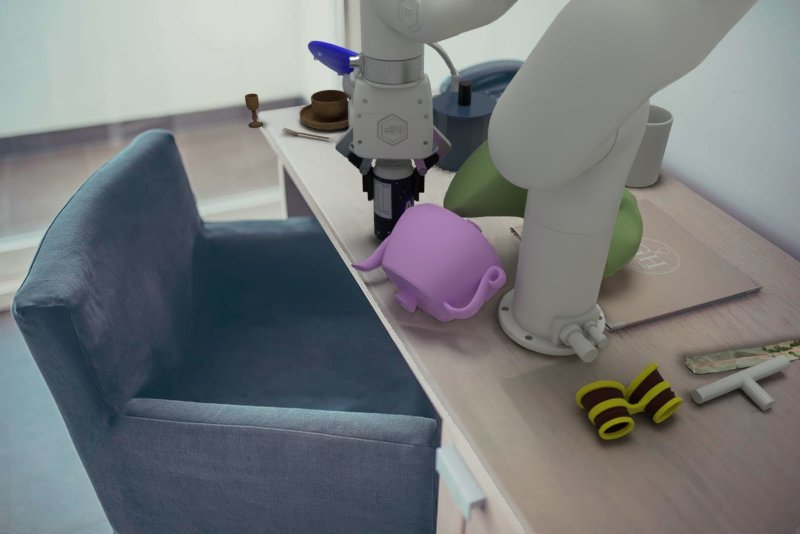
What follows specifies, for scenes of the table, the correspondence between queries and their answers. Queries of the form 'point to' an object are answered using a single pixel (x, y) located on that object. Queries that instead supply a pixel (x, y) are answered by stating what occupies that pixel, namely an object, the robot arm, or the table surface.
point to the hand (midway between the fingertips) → (393, 195)
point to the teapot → (438, 263)
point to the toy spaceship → (334, 61)
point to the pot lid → (464, 103)
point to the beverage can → (391, 193)
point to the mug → (651, 148)
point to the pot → (460, 138)
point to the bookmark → (742, 357)
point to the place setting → (313, 111)
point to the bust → (495, 196)
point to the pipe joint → (744, 383)
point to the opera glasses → (614, 410)
